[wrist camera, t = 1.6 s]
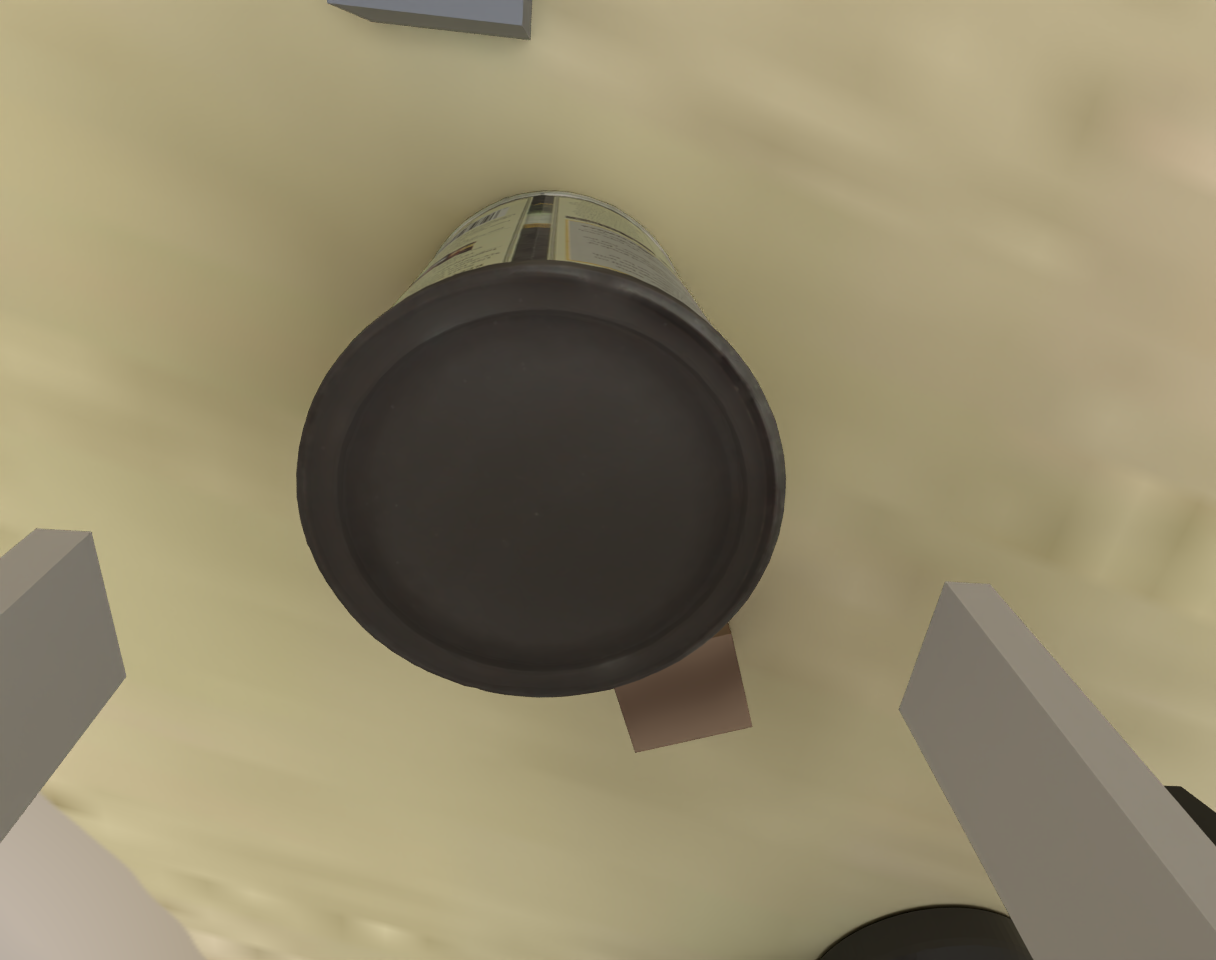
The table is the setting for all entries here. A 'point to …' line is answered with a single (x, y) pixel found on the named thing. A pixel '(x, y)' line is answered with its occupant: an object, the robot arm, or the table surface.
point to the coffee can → (542, 459)
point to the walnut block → (687, 698)
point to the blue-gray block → (448, 15)
